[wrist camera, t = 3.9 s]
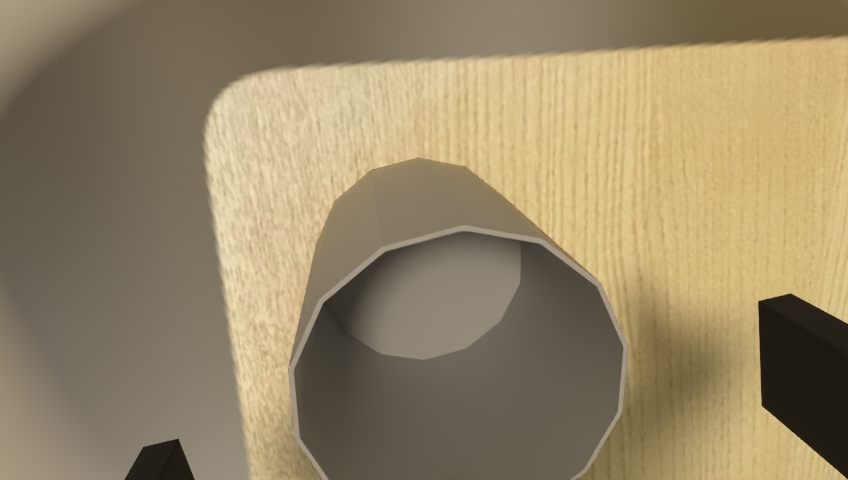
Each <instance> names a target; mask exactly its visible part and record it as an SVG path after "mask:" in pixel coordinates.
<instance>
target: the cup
mask: <svg viewBox="0 0 848 480" xmlns="http://www.w3.org/2000/svg"><path fill="white" fill-rule="evenodd" d="M627 356H628V344H627V341H626V339H625V337H624V335H623V332H622V330H621V328H620V325H619V323H618V321H617V318H616V316H615V314H614V312H613V309H612V307H611V305H610V302H609V300H608V298H607V295H606V293H605V291H604V289H603V286H602V284H601V283H600V282H599V281H598V280H597V279H596V278H595V277H594V276H592V275H591V274H590V273H589V272H588V271H587V270H586V269H585V268H583V267H582V266H581V265H580V264H579V263H578V262H577V261H576V260H574V259H573V258H572V257H571V256H570V255H569V254H568V253H567V252H565V251H564V250H563V249H562V248H561V247H560V246H559V245H557V244H556V243H555V242H554V241H553V240H552V239H551V238H550V237H548V236H547V235H546V234H545V233H544V232H543V231H542V230H541V229H539V228H538V227H537V226H536V225H535V224H534V223H533V222H532V221H530V220H529V219H528V218H527V217H526V216H525V215H524V214H523V213H521V212H520V211H519V210H518V209H517V208H516V207H515V206H513V205H512V204H511V203H510V202H509V201H508V200H507V199H506V198H504V197H503V196H502V195H501V194H500V193H498V192H497V191H496V190H495V189H493V188H492V187H491V186H489V185H488V184H487V183H485V182H484V181H483V180H482V179H480V178H479V177H478V176H476V175H475V174H474V173H472V172H471V171H470V170H468V169H467V168H466V167H463V166H458V165H453V164H448V163H443V162H437V161H432V160H427V159H422V158H416V159H412V160H408V161H404V162H400V163H397V164H393V165H389V166H385V167H382V168H378V169H374V170H371V171H370V172H369V173H367V174H366V175H365V176H364V177H363V178H362V179H360V180H359V181H358V182H357V183H356V184H355V185H353V186H352V187H351V188H350V189H349V190H348V191H346V192H345V193H344V194H343V195H342V196H340V197H339V198H338V199H337V200H336V201H335V202H334V204H333V206H332V209H331V211H330V213H329V216H328V218H327V220H326V223H325V225H324V228H323V230H322V232H321V235H320V237H319V239H318V242H317V244H316V248H315V253H314V257H313V261H312V266H311V270H310V275H309V279H308V284H307V288H306V293H305V297H304V301H303V306H302V310H301V315H300V319H299V324H298V328H297V333H296V337H295V341H294V346H293V350H292V355H291V359H290V364H289V368H288V373H289V384H290V394H291V405H292V415H293V426H294V436H295V440H296V442H297V443H298V445H299V446H300V448H301V449H302V450H303V452H304V453H305V455H306V456H307V458H308V459H309V460H310V462H311V463H312V465H313V466H314V468H315V469H316V470H317V472H318V473H319V475H320V476H321V478H322V479H323V480H576V479H578V478H579V477H580V476H582V475H583V474H584V473H586V472H587V471H588V469H589V468H590V466H591V464H592V463H593V461H594V459H595V458H596V456H597V454H598V453H599V451H600V449H601V447H602V446H603V444H604V442H605V441H606V439H607V437H608V436H609V434H610V432H611V431H612V429H613V427H614V426H615V424H616V422H617V421H618V419H619V417H620V416H621V414H622V410H623V399H624V388H625V377H626V367H627Z"/></svg>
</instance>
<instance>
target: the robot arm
mask: <svg viewBox="0 0 848 480" xmlns="http://www.w3.org/2000/svg"><path fill="white" fill-rule="evenodd" d="M758 307H759V337H760V367H761V397H762V406H763V407H764V408H765V409H766V410H768V411H769V412H770V413H771V414H772V415H773V416H775V417H776V418H777V419H778V420H779V421H780V422H782V423H783V424H784V425H785V426H786V427H787V428H789V429H790V430H791V431H792V432H793V433H794V434H796V435H797V436H798V437H799V438H800V439H801V440H803V441H804V442H805V443H806V444H807V445H809V446H810V447H811V448H812V449H813V450H814V451H816V452H817V453H818V454H819V455H820V456H821V457H823V458H824V459H825V460H826V461H827V462H828V463H830V464H831V465H832V466H833V467H834V468H835V469H837V470H838V471H839V472H840V473H841V474H842V475H844V476H845V477H846V478H847V479H848V324H847V323H845V322H843V321H841V320H839V319H838V318H836V317H834V316H832V315H830V314H828V313H826V312H824V311H823V310H821V309H819V308H817V307H815V306H813V305H811V304H810V303H808V302H806V301H804V300H802V299H800V298H798V297H796V296H795V295H793V294H787V295H783V296H778V297H774V298H770V299H766V300H762V301H758ZM125 480H195V479H194V477H193V474H192V472H191V470H190V467H189V465H188V462H187V459H186V457H185V454H184V452H183V449H182V447H181V444H180V442H179V439H175V440H172V441H167V442H163V443H159V444H154V445H150V446H146V447H143V448H142V450H141V452H140V454H139V455H138V457H137V459H136V461H135V462H134V464H133V466H132V468H131V469H130V471H129V473H128V475H127V476H126V478H125Z"/></svg>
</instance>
